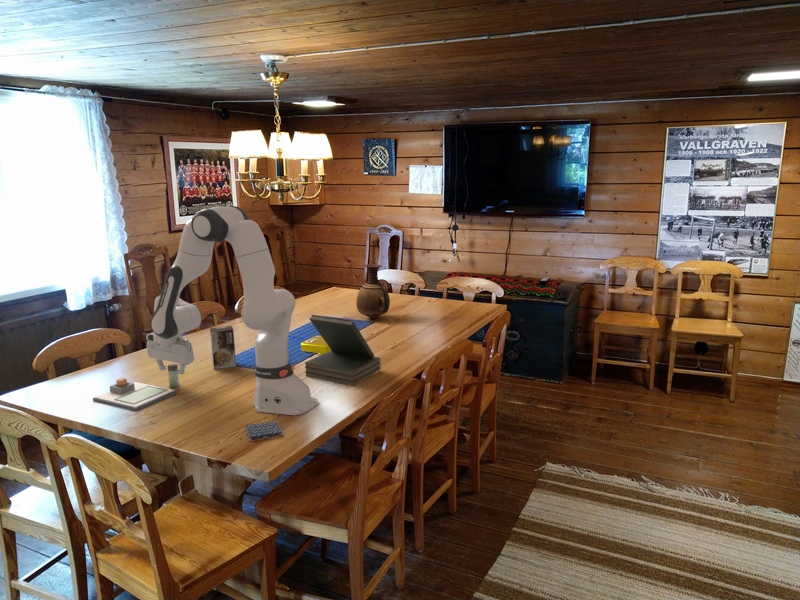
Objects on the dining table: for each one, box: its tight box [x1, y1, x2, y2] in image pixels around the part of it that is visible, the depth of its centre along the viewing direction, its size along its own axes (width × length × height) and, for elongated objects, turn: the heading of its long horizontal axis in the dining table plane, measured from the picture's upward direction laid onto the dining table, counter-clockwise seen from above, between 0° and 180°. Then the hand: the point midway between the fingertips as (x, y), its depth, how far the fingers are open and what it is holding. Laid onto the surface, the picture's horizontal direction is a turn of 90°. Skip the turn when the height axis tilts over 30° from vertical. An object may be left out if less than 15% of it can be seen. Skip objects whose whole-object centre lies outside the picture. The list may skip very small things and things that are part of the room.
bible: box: [304, 314, 381, 387], centre depth 226 cm, size 23×20×25 cm
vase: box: [356, 263, 391, 319], centre depth 313 cm, size 21×18×30 cm
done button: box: [115, 377, 128, 387], centre depth 207 cm, size 3×3×2 cm
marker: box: [167, 363, 180, 388], centre depth 215 cm, size 4×4×8 cm
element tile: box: [300, 335, 331, 355], centre depth 262 cm, size 15×15×5 cm
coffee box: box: [209, 325, 237, 370], centre depth 237 cm, size 9×6×16 cm
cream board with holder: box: [92, 381, 178, 412], centre depth 205 cm, size 21×18×4 cm
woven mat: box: [244, 419, 284, 442], centre depth 177 cm, size 10×11×2 cm
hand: (172, 372), depth 215 cm, fingers open, 8 cm apart
